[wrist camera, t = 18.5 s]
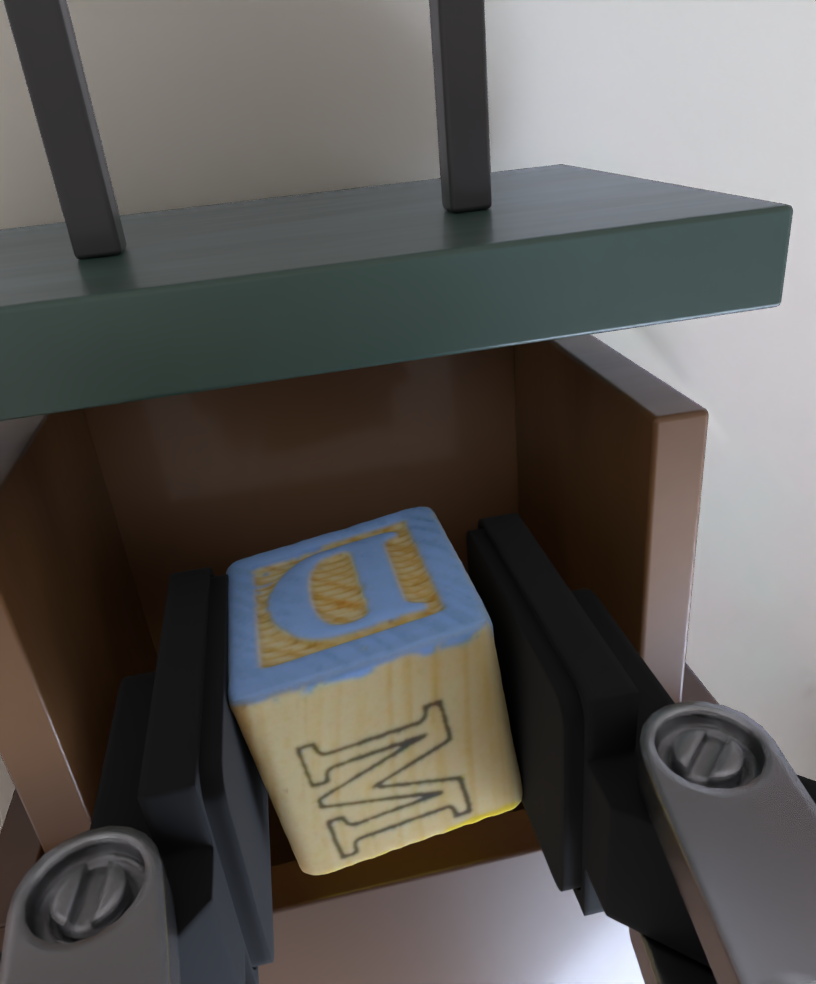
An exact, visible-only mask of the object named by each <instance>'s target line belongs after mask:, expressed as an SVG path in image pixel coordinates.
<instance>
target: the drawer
mask: <svg viewBox="0 0 816 984" xmlns="http://www.w3.org/2000/svg"><path fill="white" fill-rule="evenodd" d="M3 1H4V5H5V8H6V12H7V16H8V19H9V23H10V26H11V30H12V33H13V37H14V41H15V44H16V48H17V51H18V55H19V59H20V62H21V66H22V69H23V73H24V76H25V80H26V84H27V87H28V91H29V94H30V98H31V102H32V105H33V109H34V112H35V116H36V119H37V123H38V127H39V130H40V134H41V137H42V141H43V145H44V148H45V152H46V155H47V159H48V162H49V166H50V170H51V173H52V177H53V180H54V184H55V188H56V191H57V195H58V198H59V202H60V206H61V209H62V213H63V216H64V220H65V222H62V223H54V224H45V225H37V226H28V227H20V228H11V229H2V230H0V755H1V757H2V759H3V761H4V763H5V766H6V768H7V770H8V772H9V775H10V777H11V779H12V781H13V783H14V786H15V788H16V790H17V792H18V795H19V797H20V799H21V801H22V803H23V806H24V808H25V810H26V812H27V814H28V817H29V819H30V821H31V823H32V826H33V828H34V830H35V832H36V834H37V837H38V839H39V841H40V843H41V845H42V848H43V850H44V852H45V854H46V853H47V852H48V851H50V850H51V849H53V848H54V847H56V846H57V845H59V844H60V843H62V842H63V841H65V840H66V839H68V838H71V837H73V836H75V835H78V834H80V833H82V832H85V831H87V830H90V826H91V822H92V817H93V812H94V807H95V802H96V797H97V792H98V788H99V783H100V778H101V773H102V768H103V763H104V758H105V754H106V749H107V744H108V739H109V734H110V729H111V724H112V720H113V715H114V710H115V705H116V700H117V695H118V690H119V687H120V684H121V680H122V679H123V678H124V677H126V676H131V675H137V674H142V673H147V672H152V671H156V665H157V659H158V652H159V645H160V638H161V631H162V625H163V618H164V611H165V604H166V597H167V591H168V584H169V577H170V574H172V573H177V572H183V571H188V570H194V569H200V568H205V567H211V568H212V570H213V572H214V575H215V576H218V575H224V574H226V571H227V569H228V568H229V567H230V565H231V564H232V563H234V562H235V561H238V560H241V559H243V558H247V557H251V556H253V555H256V554H259V553H263V552H267V551H271V550H274V549H277V548H280V547H283V546H288V545H292V544H295V543H297V542H299V541H302V540H306V539H310V538H313V537H317V536H320V535H323V534H326V533H330V532H334V531H338V530H342V529H346V528H348V527H351V526H353V525H357V524H359V523H363V522H366V521H370V520H373V519H376V518H379V517H383V516H385V515H388V514H392V513H396V512H399V511H401V510H405V509H410V508H414V507H429V508H431V509H432V510H433V511H434V512H435V514H436V516H437V518H438V520H439V521H440V523H441V525H442V527H443V529H444V531H445V533H446V535H447V537H448V539H449V540H450V542H451V544H452V546H453V548H454V550H455V551H456V553H457V555H458V557H459V559H460V560H461V562H462V564H463V566H464V568H465V570H466V572H467V574H468V560H467V545H466V534H467V531H471V530H476V529H478V521H479V519H483V518H488V517H494V516H500V515H505V514H511V513H517V514H518V515H519V516H520V517H521V519H522V520H523V522H524V523H525V525H526V526H527V528H528V529H529V531H530V532H531V533H532V535H533V536H534V538H535V539H536V541H537V542H538V544H539V545H540V547H541V548H542V550H543V551H544V553H545V554H546V555H547V557H548V558H549V560H550V561H551V563H552V564H553V566H554V567H555V569H556V570H557V572H558V573H559V575H560V576H561V577H562V579H563V580H564V582H565V583H566V585H567V586H568V588H569V589H570V591H574V590H579V589H584V588H587V589H590V590H592V591H593V592H594V593H595V595H596V596H597V597H598V598H599V600H600V601H601V602H602V604H603V605H604V606H605V608H606V609H607V611H608V612H609V613H610V615H611V616H612V617H613V619H614V620H615V622H616V623H617V624H618V626H619V627H620V628H621V630H622V631H623V633H624V634H625V635H626V637H627V638H628V639H629V641H630V642H631V644H632V645H633V646H634V648H635V649H636V650H637V652H638V653H639V655H640V656H641V657H642V659H643V660H644V661H645V663H646V664H647V666H648V667H649V668H650V670H651V671H652V672H653V674H654V675H655V677H656V678H657V679H658V681H659V682H660V683H661V685H662V686H663V687H664V689H665V690H666V692H667V693H668V694H669V696H670V697H671V698H672V700H673V701H674V703H679V702H681V701H682V691H683V680H684V670H685V659H686V648H687V638H688V627H689V617H690V606H691V595H692V585H693V574H694V564H695V553H696V542H697V532H698V521H699V511H700V500H701V489H702V479H703V468H704V458H705V447H706V437H707V426H708V411H707V410H706V409H705V408H703V407H702V406H700V405H699V404H697V403H696V402H694V401H692V400H691V399H689V398H688V397H686V396H685V395H683V394H682V393H680V392H679V391H677V390H675V389H674V388H672V387H671V386H669V385H668V384H666V383H665V382H663V381H662V380H660V379H659V378H657V377H655V376H654V375H652V374H651V373H649V372H648V371H646V370H645V369H643V368H642V367H640V366H639V365H637V364H635V363H634V362H632V361H631V360H629V359H628V358H626V357H625V356H623V355H622V354H620V353H618V352H617V351H615V350H614V349H612V348H611V347H609V346H608V345H606V344H605V343H603V342H602V341H600V340H598V339H597V338H595V337H594V336H592V335H591V334H595V333H602V332H609V331H616V330H622V329H629V328H636V327H643V326H650V325H656V324H663V323H670V322H677V321H683V320H690V319H697V318H704V317H711V316H717V315H724V314H731V313H738V312H745V311H751V310H758V309H765V308H772V307H776V306H778V305H780V303H781V298H782V291H783V283H784V276H785V268H786V260H787V253H788V245H789V237H790V230H791V222H792V214H793V209H792V207H791V206H790V205H787V204H782V203H776V202H770V201H765V200H759V199H754V198H748V197H742V196H737V195H731V194H726V193H720V192H715V191H709V190H703V189H698V188H692V187H687V186H681V185H675V184H670V183H664V182H659V181H653V180H648V179H642V178H636V177H631V176H625V175H620V174H614V173H608V172H603V171H597V170H592V169H586V168H581V167H575V166H569V165H564V164H559V165H551V166H542V167H534V168H525V169H516V170H508V171H499V172H491V165H490V139H489V112H488V86H487V59H486V33H485V6H484V0H429V8H430V23H431V38H432V54H433V69H434V84H435V100H436V115H437V130H438V145H439V161H440V176H441V178H439V179H431V180H422V181H414V182H405V183H396V184H388V185H379V186H371V187H362V188H354V189H345V190H337V191H328V192H319V193H311V194H302V195H294V196H285V197H277V198H268V199H259V200H251V201H242V202H234V203H225V204H217V205H208V206H199V207H191V208H182V209H174V210H165V211H157V212H148V213H140V214H131V215H122V216H120V215H119V211H118V207H117V203H116V199H115V195H114V191H113V187H112V183H111V179H110V175H109V171H108V167H107V163H106V158H105V154H104V150H103V146H102V142H101V138H100V134H99V130H98V126H97V122H96V118H95V114H94V110H93V106H92V102H91V98H90V94H89V90H88V86H87V82H86V78H85V74H84V70H83V65H82V61H81V57H80V53H79V49H78V45H77V41H76V37H75V33H74V29H73V25H72V21H71V17H70V13H69V9H68V5H67V1H66V0H3ZM524 808H525V807H524V805H523V802H522V800H521V802H520V803H519V804H518V806H517V807H515V808H514V809H512V810H510V811H506V812H504V813H507V812H511V811H516V810H520V809H524ZM268 814H269V838H270V862H271V866H275V865H279V864H284V863H288V862H292V861H297V859H296V857H295V855H294V853H293V851H292V848H291V845H290V843H289V840H288V838H287V836H286V834H285V832H284V830H283V827H282V825H281V823H280V820H279V817H278V815H277V813H276V811H275V808H274V806H273V804H272V801H271V799H270V797H269V794H268ZM502 814H503V813H502Z"/></svg>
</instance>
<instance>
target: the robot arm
mask: <svg viewBox="0 0 816 984" xmlns="http://www.w3.org/2000/svg"><path fill="white" fill-rule="evenodd" d="M466 545H467V560H468V575H469V577H470V579H471V581H472V583H473V585H474V586H475V589H476V591H477V593H478V594H479V596H480V598H481V600H482V602H483V604H484V606H485V608H486V610H487V612H488V614H489V617H490V619H491V622H492V624H493V632H494V642H495V647H496V652H497V657H498V663H499V667H500V672H501V678H502V686H503V691H504V694H505V700H506V706H507V711H508V716H509V721H510V728H511V733H512V738H513V744H514V748H515V752H516V757H517V762H518V766H519V771H520V776H521V782H522V788H523V795H522V802H523V805H524V807H525V810H526V812H527V815H528V817H529V820H530V822H531V825H532V827H533V829H534V832H535V834H536V837H537V839H538V842H539V844H540V847H541V849H542V852H543V854H544V857H545V859H546V862H547V864H548V866H549V869H550V871H551V874H552V876H553V879H554V881H555V883H556V885H557V887H558V889H559V890H560V891H561V892H563V891H567V890H571V889H573V891H574V893H575V896H576V898H577V900H578V903H579V905H580V907H581V910H582V912H583V914H584V916H587V915H591V914H595V913H599V912H605V914H606V916H608V917H610V918H612V919H614V920H616V921H618V922H620V923H622V924H624V925H626V926H628V927H629V933H630V940H631V943H632V946H633V949H634V952H635V955H636V958H637V961H638V964H639V967H640V971H641V974H642V977H643V980H644V983H645V984H816V781H814V780H811V779H808V778H805V777H802V776H799V775H797V774H796V773H795V772H794V770H793V769H792V767H791V766H790V764H789V763H788V761H787V759H786V758H785V756H784V755H783V753H782V752H781V750H780V749H779V747H778V746H777V744H776V742H775V741H774V740H773V738H772V737H771V736H770V735H769V734H768V733H767V732H766V730H765V729H764V728H763V727H762V726H761V725H760V724H758V723H757V722H755V721H754V720H752V719H751V718H749V717H748V716H747V715H745V714H743V713H741V712H738V711H736V710H734V709H731V708H729V707H727V706H724V705H719V704H714V703H709V702H704V701H683V702H679V703H674V701H673V700H672V698H671V697H670V696H669V694H668V693H667V692H666V690H665V689H664V687H663V686H662V685H661V683H660V682H659V681H658V679H657V678H656V677H655V675H654V674H653V672H652V671H651V670H650V668H649V667H648V666H647V664H646V663H645V661H644V660H643V659H642V657H641V656H640V655H639V653H638V652H637V650H636V649H635V648H634V646H633V645H632V644H631V642H630V641H629V639H628V638H627V637H626V635H625V634H624V633H623V631H622V630H621V628H620V627H619V626H618V624H617V623H616V622H615V620H614V619H613V617H612V616H611V615H610V613H609V612H608V611H607V609H606V608H605V606H604V605H603V604H602V602H601V601H600V600H599V598H598V597H597V596H596V595H595V593H594V592H593V591H592V590H590V589H587V588H584V589H579V590H574V591H570V589H569V588H568V586H567V585H566V583H565V582H564V580H563V579H562V577H561V576H560V575H559V573H558V572H557V570H556V569H555V567H554V566H553V564H552V563H551V561H550V560H549V558H548V557H547V555H546V554H545V553H544V551H543V550H542V548H541V547H540V545H539V544H538V542H537V541H536V539H535V538H534V536H533V535H532V533H531V532H530V531H529V529H528V528H527V526H526V525H525V523H524V522H523V520H522V519H521V517H520V516H519V515H518V514H517V513H511V514H505V515H500V516H494V517H488V518H483V519H479V521H478V529H476V530H471V531H467V534H466ZM227 688H228V574H224V575H218V576H215V575H214V572H213V570H212V568H211V567H205V568H200V569H194V570H188V571H183V572H177V573H172V574H170V577H169V584H168V591H167V597H166V604H165V611H164V618H163V625H162V631H161V638H160V645H159V652H158V659H157V665H156V671H152V672H147V673H142V674H137V675H131V676H126V677H124V678H123V679H122V680H121V684H120V687H119V690H118V695H117V700H116V705H115V710H114V715H113V720H112V724H111V729H110V734H109V739H108V744H107V749H106V754H105V758H104V763H103V768H102V773H101V778H100V783H99V788H98V792H97V797H96V802H95V807H94V812H93V817H92V822H91V826H90V830H87V831H85V832H82V833H80V834H78V835H75V836H73V837H71V838H68V839H66V840H65V841H63V842H62V843H60V844H59V845H57V846H56V847H54V848H53V849H51V850H50V851H48V852H47V853H46V854H44V855H43V856H42V857H41V858H40V859H39V860H38V861H37V862H36V863H35V864H34V865H33V866H32V867H31V868H30V869H29V870H28V871H27V873H26V874H25V876H24V877H23V879H22V881H21V882H20V884H19V885H18V887H17V888H16V890H15V892H14V894H13V897H12V900H11V903H10V907H9V910H8V913H7V919H6V927H5V934H4V941H3V949H2V952H1V953H0V984H259V974H258V966H261V965H265V964H269V963H273V961H274V933H273V909H272V885H271V862H270V838H269V814H268V792H267V789H266V787H265V785H264V783H263V781H262V778H261V776H260V774H259V771H258V769H257V766H256V764H255V762H254V759H253V757H252V755H251V753H250V750H249V748H248V745H247V743H246V741H245V739H244V737H243V735H242V732H241V730H240V727H239V725H238V723H237V720H236V718H235V716H234V714H233V712H232V710H231V708H230V706H229V702H228V694H227Z"/></svg>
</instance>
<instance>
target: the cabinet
mask: <svg viewBox="0 0 816 984" xmlns="http://www.w3.org/2000/svg"><path fill="white" fill-rule="evenodd" d="M683 701H704V702H709V703H714V704H718V702H717V701H716V700H715V699H714V697H713V696H712V695H711V694H710V692H709V691H708V690H707V689H706V687H705V686H704V685H703V684H702V682H701V681H700V680H699V679H698V677H697V676H696V675H695V674H694V672H693V671H692V670H691V669H690V667H689V666H688V665H687V664H686V662H685V670H684V680H683V691H682V701H681V702H683ZM44 854H45V852H44V850H43V848H42V845H41V843H40V841H39V839H38V837H37V834H36V832H35V830H34V828H33V826H32V823H31V821H30V819H29V817H28V814H27V812H26V810H25V808H24V806H23V803H22V801H21V799H20V797H19V795H18V792H17V790H16V788H15V791H14V794H13V797H12V800H11V803H10V806H9V809H8V812H7V815H6V818H5V821H4V824H3V827H2V830H1V833H0V953H1V952H2V949H3V941H4V934H5V927H6V919H7V913H8V910H9V907H10V903H11V900H12V897H13V894H14V892H15V890H16V888H17V887H18V885H19V884H20V882H21V881H22V879H23V877H24V876H25V874H26V873H27V871H28V870H29V869H30V868H31V867H32V866H33V865H34V864H35V863H36V862H37V861H38V860H39V859H40V858H41V857H42V856H43V855H44ZM271 885H272V909H273V933H274V961H273V963H269V964H265V965H261V966H258V974H259V984H645V983H644V980H643V977H642V974H641V971H640V967H639V964H638V961H637V958H636V955H635V952H634V949H633V946H632V943H631V940H630V933H629V927H628V926H626V925H624V924H622V923H620V922H618V921H616V920H614V919H612V918H610V917H608V916H606V914H605V912H599V913H595V914H591V915H587V916H584V914H583V912H582V910H581V907H580V905H579V903H578V900H577V898H576V896H575V893H574V891H573V889H571V890H567V891H563V892H561V891H560V890H559V889H558V887H557V885H556V883H555V881H554V879H553V876H552V874H551V871H550V869H549V866H548V864H547V862H546V859H545V857H544V854H543V852H542V849H541V847H540V844H539V842H538V839H537V837H536V834H535V832H534V829H533V827H532V825H531V822H530V820H529V817H528V815H527V812H526V810H525V808H524V809H520V810H516V811H511V812H507V813H503V814H499V815H496V816H491V817H486V818H484V819H482V820H480V821H478V822H476V823H473V824H468V825H464V826H462V827H459V828H457V829H454V830H451V831H449V832H446V833H444V834H437V835H434V836H432V837H429V838H427V839H425V840H422V841H419V842H416V843H412V844H409V845H406V846H404V847H402V848H399V849H395V850H392V851H389V852H387V853H385V854H383V855H380V856H377V857H375V858H372V859H368V860H364V861H361V862H358V863H356V864H354V865H351V866H348V867H345V868H342V869H340V870H337V871H335V872H331V873H328V874H323V875H310V874H307V873H304V872H303V871H302V870H301V868H300V867H299V864H298V862H297V861H292V862H288V863H284V864H279V865H275V866H271Z"/></svg>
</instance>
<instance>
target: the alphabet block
mask: <svg viewBox="0 0 816 984" xmlns="http://www.w3.org/2000/svg"><path fill="white" fill-rule="evenodd" d="M226 574H228V688H227V694H228V702H229V706H230V708H231V710H232V712H233V714H234V716H235V718H236V720H237V723H238V725H239V727H240V730H241V732H242V735H243V737H244V739H245V741H246V743H247V745H248V748H249V750H250V753H251V755H252V757H253V759H254V762H255V764H256V766H257V769H258V771H259V774H260V776H261V778H262V781H263V783H264V785H265V787H266V789H267V792H268V794H269V797H270V799H271V801H272V804H273V806H274V808H275V811H276V813H277V815H278V817H279V820H280V823H281V825H282V827H283V830H284V832H285V834H286V836H287V838H288V840H289V843H290V845H291V848H292V851H293V853H294V855H295V857H296V859H297V862H298V864H299V867H300V868H301V870H302V871H303V872H304V873H307V874H310V875H323V874H328V873H331V872H335V871H337V870H340V869H342V868H345V867H348V866H351V865H354V864H356V863H358V862H361V861H364V860H368V859H372V858H375V857H377V856H380V855H383V854H385V853H387V852H389V851H392V850H395V849H399V848H402V847H404V846H406V845H409V844H412V843H416V842H419V841H422V840H425V839H427V838H429V837H432V836H434V835H437V834H444V833H446V832H449V831H451V830H454V829H457V828H459V827H462V826H464V825H468V824H473V823H476V822H478V821H480V820H482V819H484V818H486V817H491V816H496V815H499V814H502V813H504V812H506V811H510V810H512V809H514V808H515V807H517V806H518V804H519V803H520V802H521V800H522V795H523V788H522V782H521V776H520V771H519V766H518V762H517V757H516V752H515V748H514V744H513V738H512V733H511V728H510V721H509V716H508V711H507V706H506V700H505V694H504V691H503V686H502V678H501V672H500V667H499V663H498V657H497V652H496V647H495V642H494V632H493V624H492V622H491V619H490V617H489V614H488V612H487V610H486V608H485V606H484V604H483V602H482V600H481V598H480V596H479V594H478V593H477V591H476V589H475V586H474V585H473V583H472V581H471V579H470V577H469V575H468V574H467V572H466V570H465V568H464V566H463V564H462V562H461V560H460V559H459V557H458V555H457V553H456V551H455V550H454V548H453V546H452V544H451V542H450V540H449V539H448V537H447V535H446V533H445V531H444V529H443V527H442V525H441V523H440V521H439V520H438V518H437V516H436V514H435V512H434V511H433V510H432V509H431V508H429V507H414V508H410V509H405V510H401V511H399V512H396V513H392V514H388V515H385V516H383V517H379V518H376V519H373V520H370V521H366V522H363V523H359V524H357V525H353V526H351V527H348V528H346V529H342V530H338V531H334V532H330V533H326V534H323V535H320V536H317V537H313V538H310V539H306V540H302V541H299V542H297V543H295V544H292V545H288V546H283V547H280V548H277V549H274V550H271V551H267V552H263V553H259V554H256V555H253V556H251V557H247V558H243V559H241V560H238V561H235V562H234V563H232V564H231V565H230V567H229V568H228V569H227V571H226Z"/></svg>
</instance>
